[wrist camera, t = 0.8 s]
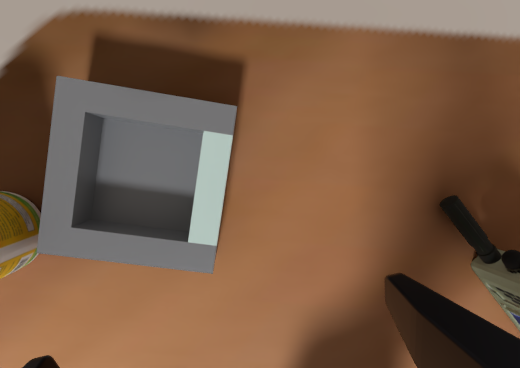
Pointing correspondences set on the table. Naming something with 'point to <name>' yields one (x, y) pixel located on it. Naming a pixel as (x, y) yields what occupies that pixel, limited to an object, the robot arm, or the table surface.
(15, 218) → the supplement bottle
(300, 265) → the table surface
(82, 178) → the dock
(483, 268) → the handheld radio
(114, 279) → the table surface
